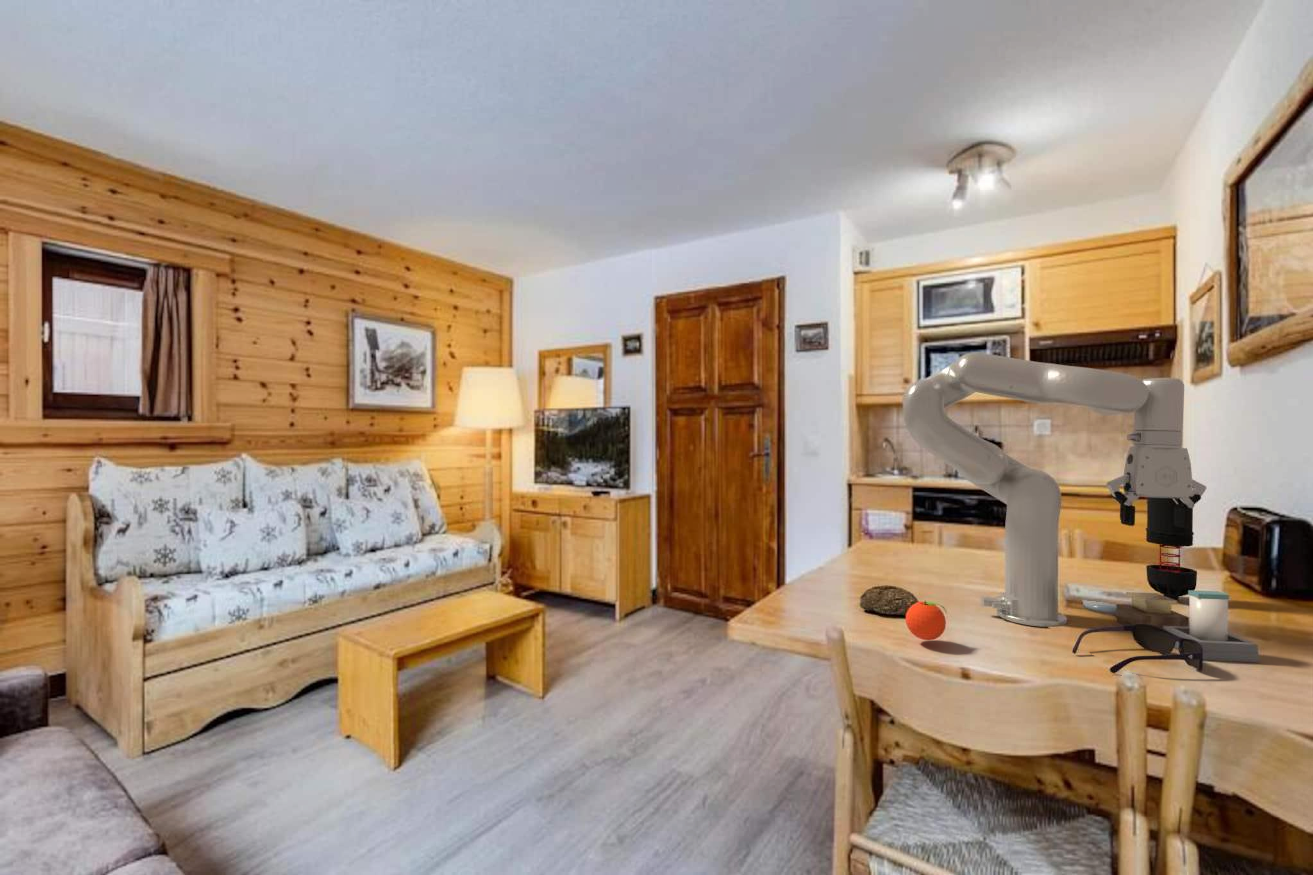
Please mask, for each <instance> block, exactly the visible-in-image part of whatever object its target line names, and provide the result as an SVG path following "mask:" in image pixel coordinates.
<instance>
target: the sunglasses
mask: <svg viewBox="0 0 1313 875" xmlns="http://www.w3.org/2000/svg"><path fill="white" fill-rule="evenodd" d="M1101 632H1103V633H1104V632H1131V633H1132V634H1131V635H1132V637H1133V640H1134V641H1135V643H1136V644H1138V645H1139V646H1140V647H1142V648H1144V649H1145V650H1147V651H1150V652H1151V653H1152V652H1153V653H1156V654H1157V653H1158V654H1159V655H1158V654H1157V655H1137V656H1133V657H1128V658H1126V659H1124V660H1122V661H1120V662H1118V663H1116V664H1114V665H1112V666H1111V667H1110V668H1109V672H1111V673H1112V674H1116V673H1117V672H1119V671H1121V669H1123V668H1124V667H1126V666H1127V665H1129V664H1131V663H1132V662H1135V661H1148V660H1150V661H1151V660H1155V661H1157V660H1158V661H1161V660H1164V661H1165V660H1170V661H1171V660H1172V661H1174V660H1177V661H1179V660H1181V661H1184V662H1185V663H1186V664H1187V665H1188V666H1189V667H1193V668H1194V669H1196V670H1195V671H1196V672H1202V671H1203V669H1204V668H1203V666H1204V664H1203V662H1204V660H1203V649H1202V646H1201V644H1200V643H1199V642H1197V641H1195V640H1192V639H1186V638H1182V637H1179V636H1177V635H1175V634H1173V633H1171V632H1169V631H1167V630H1165V629H1163V628H1161V627H1158V626H1155V625H1151V624H1134V625H1124V624H1120V625H1111V626H1108V625H1107V626H1101V627H1094V628H1090V629H1087V630H1084V631H1082V632H1081V633H1080V635H1079V636H1078V638H1077V640H1076V642H1075V644H1074V647H1072V654H1076V653H1077V652H1078V649H1079V646H1080V643H1081V641H1082V639H1083V638H1084V637H1085V636H1086V635H1089V634H1093V633H1101ZM1177 641H1178V642H1179V647H1178V649H1177V650H1178V653H1175V654H1173V653H1172V652H1173V651H1174V649H1175V648H1174V647H1175V644H1176V642H1177ZM1170 653H1172V654H1170Z"/></svg>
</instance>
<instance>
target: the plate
mask: <svg viewBox="0 0 1313 875" xmlns="http://www.w3.org/2000/svg"><path fill="white" fill-rule="evenodd" d="M1082 602H1083V605H1082V607H1083V608H1084V609H1087V610H1088V611H1091V612H1096V613H1099V614H1100V613H1101V614H1106V615H1110V616H1111V615H1112V616H1116V605H1115V604H1109V603H1103V602H1096V601H1087V600H1083V599H1082Z"/></svg>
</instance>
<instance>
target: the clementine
mask: <svg viewBox="0 0 1313 875" xmlns="http://www.w3.org/2000/svg"><path fill="white" fill-rule="evenodd" d="M937 605H938V606H940V607H941V608H943V609H944V611H945V613H946V614H948V612H947V609H946V608H945V606H943V605H940V604H939V603H937V602H933V601H926V600H924V601H919V602H917V603H915V604H914V605H912V606H911V607H910V608H909V609H908V611H907V613H906V615H905V625H906V626H907V628H908V629H907V630H909V631H910V633H911V634H912V635H914V636H915V637H916V638H918V639H920V640H924V641H933V640H935V639H938V638H939V637H941V635H943V634H944V632H945V630H946V627H947V626H946V624H947V621H946V617H945V614H944V612H943V611H942V610H941V609H940V608H939V607H938V606H937Z"/></svg>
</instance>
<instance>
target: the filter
mask: <svg viewBox="0 0 1313 875" xmlns="http://www.w3.org/2000/svg"><path fill="white" fill-rule="evenodd" d="M1146 498H1147V499H1146V504H1147V505H1146V508H1147V509H1146V511H1147V512H1146V513H1147V514H1146V527H1145V531H1146V533H1145V534H1146V535H1145V536H1146V538H1145V539H1146V541H1147V543H1152V544H1155V545H1159V546H1158V547H1159V553H1158V555H1159V562H1158V563H1159V564H1148V565H1146V566H1145V567H1146V581H1147V582H1148V585H1149V587H1150V588H1151V589H1153V591H1154V592H1156V593H1158V594H1160V595H1163V596H1166V597H1168V598H1171V599H1174V600H1176V601H1177V603H1178V602H1179V598H1180V597H1183V596H1189V595H1188V590H1194V591H1196V588H1197V581H1198V571H1197V570H1195V569H1192V568H1188V567H1183V566H1181V558H1182V557H1181V552H1180V551H1181V550H1180V549H1181V548H1182V547H1192V546H1194V544H1193V543H1194V535H1195V534H1194V531H1193V529H1194V528H1193V525H1194V524H1193V523H1194V522H1193V520H1194V519H1193V518H1194V515H1193V514H1194V507H1193V508H1191V510H1190V523H1189V528H1181V527H1177V526H1174V507H1175V506H1178V504H1177V503H1176V502H1175V501H1174V500H1173V499H1172V498H1153V497H1146ZM1162 548H1165V549H1170V550H1173V549H1174V550H1175V549H1177V550H1178V554H1175V553H1168V552H1166V553H1165V552H1162ZM1162 557H1166V558H1178V562H1173V561H1162Z"/></svg>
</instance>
